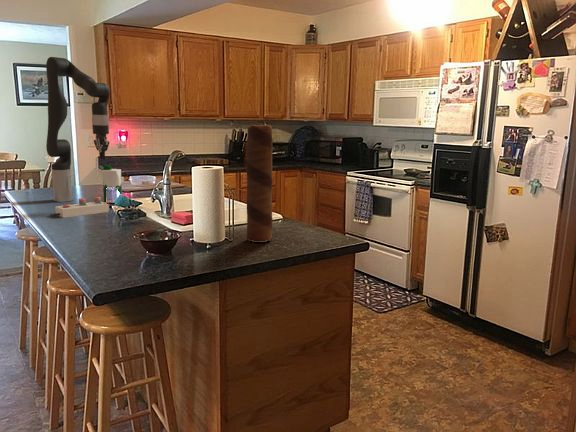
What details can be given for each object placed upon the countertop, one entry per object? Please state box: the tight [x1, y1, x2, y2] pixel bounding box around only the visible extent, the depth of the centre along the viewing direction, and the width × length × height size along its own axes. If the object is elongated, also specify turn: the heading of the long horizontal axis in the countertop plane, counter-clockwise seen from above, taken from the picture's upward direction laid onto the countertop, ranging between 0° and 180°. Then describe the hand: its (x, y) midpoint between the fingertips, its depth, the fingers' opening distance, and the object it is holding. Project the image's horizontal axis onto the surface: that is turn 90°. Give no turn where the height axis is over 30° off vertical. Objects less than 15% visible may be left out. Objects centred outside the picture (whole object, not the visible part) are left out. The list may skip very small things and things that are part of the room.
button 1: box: [62, 203, 71, 208], centre depth 226 cm, size 3×3×3 cm
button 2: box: [78, 198, 87, 205], centre depth 231 cm, size 3×3×3 cm
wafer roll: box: [245, 124, 274, 241], centre depth 184 cm, size 10×11×45 cm
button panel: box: [49, 201, 110, 218], centre depth 230 cm, size 9×26×5 cm, turn 136°
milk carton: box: [101, 164, 123, 202], centre depth 259 cm, size 9×9×20 cm
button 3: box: [93, 196, 102, 203], centre depth 236 cm, size 3×3×3 cm
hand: (102, 159), depth 240 cm, fingers closed
